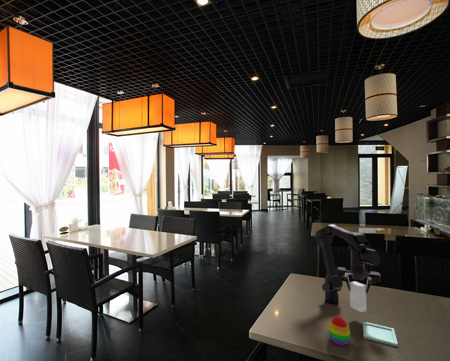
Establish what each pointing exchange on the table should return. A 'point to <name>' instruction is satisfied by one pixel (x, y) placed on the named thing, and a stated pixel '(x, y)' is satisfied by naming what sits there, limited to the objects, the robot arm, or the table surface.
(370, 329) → the tray
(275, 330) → the table surface
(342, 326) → the decorative egg
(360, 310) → the skincare box
